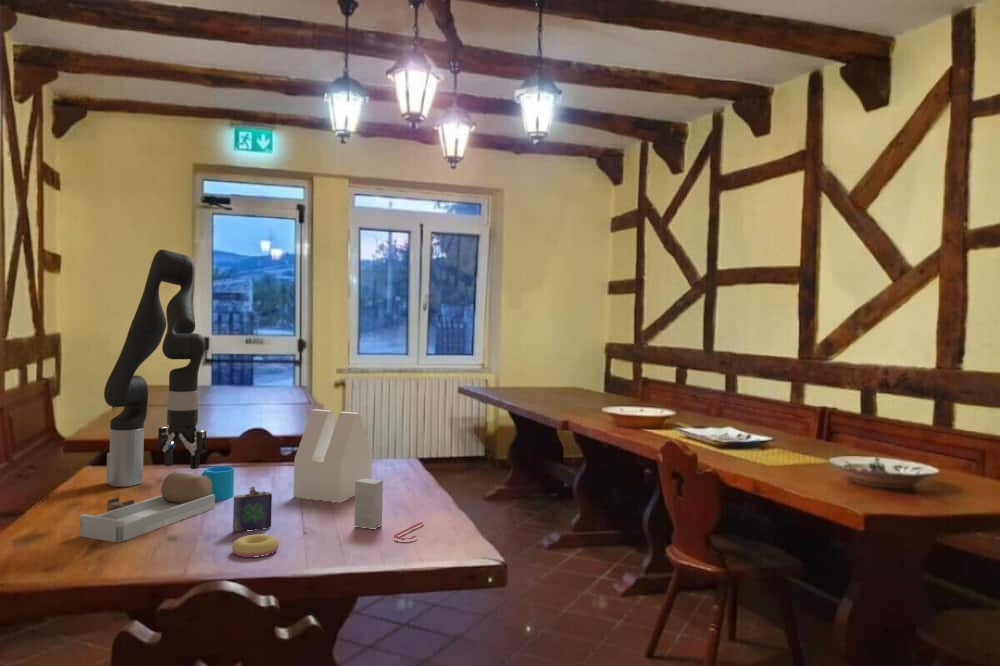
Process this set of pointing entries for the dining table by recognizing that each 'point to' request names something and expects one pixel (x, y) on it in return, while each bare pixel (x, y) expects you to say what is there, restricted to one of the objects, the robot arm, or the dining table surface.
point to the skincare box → (368, 503)
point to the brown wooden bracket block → (117, 504)
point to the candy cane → (405, 531)
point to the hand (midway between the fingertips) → (181, 467)
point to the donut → (255, 545)
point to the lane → (153, 510)
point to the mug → (221, 481)
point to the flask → (252, 511)
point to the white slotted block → (331, 457)
